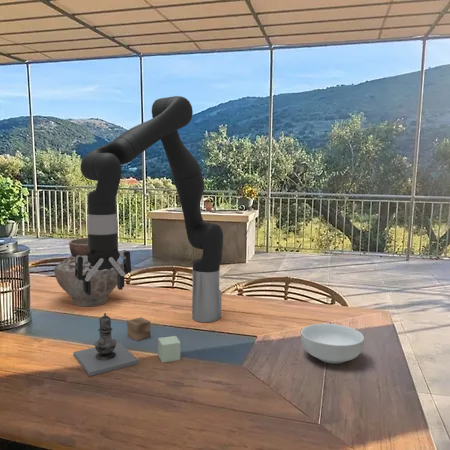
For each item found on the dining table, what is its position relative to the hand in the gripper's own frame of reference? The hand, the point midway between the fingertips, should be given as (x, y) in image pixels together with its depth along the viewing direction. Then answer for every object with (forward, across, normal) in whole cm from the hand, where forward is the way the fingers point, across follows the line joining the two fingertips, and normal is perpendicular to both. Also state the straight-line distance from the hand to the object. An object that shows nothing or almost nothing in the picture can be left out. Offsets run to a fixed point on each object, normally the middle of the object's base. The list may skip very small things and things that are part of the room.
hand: (104, 291), depth 114 cm
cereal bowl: (+20, -53, +32) cm, 65 cm away
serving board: (+19, 0, 0) cm, 19 cm away
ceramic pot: (+19, -12, -51) cm, 56 cm away
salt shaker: (+18, 0, 0) cm, 18 cm away
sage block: (+19, -15, +8) cm, 25 cm away
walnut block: (+19, -14, -10) cm, 26 cm away
